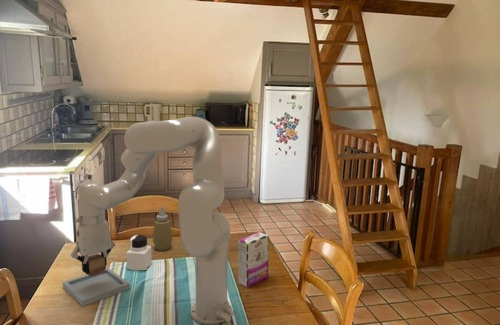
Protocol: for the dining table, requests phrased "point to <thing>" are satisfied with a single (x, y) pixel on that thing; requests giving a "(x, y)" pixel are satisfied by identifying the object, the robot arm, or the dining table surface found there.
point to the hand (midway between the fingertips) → (94, 269)
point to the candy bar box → (253, 259)
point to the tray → (95, 287)
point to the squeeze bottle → (162, 231)
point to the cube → (96, 264)
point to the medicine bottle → (139, 253)
